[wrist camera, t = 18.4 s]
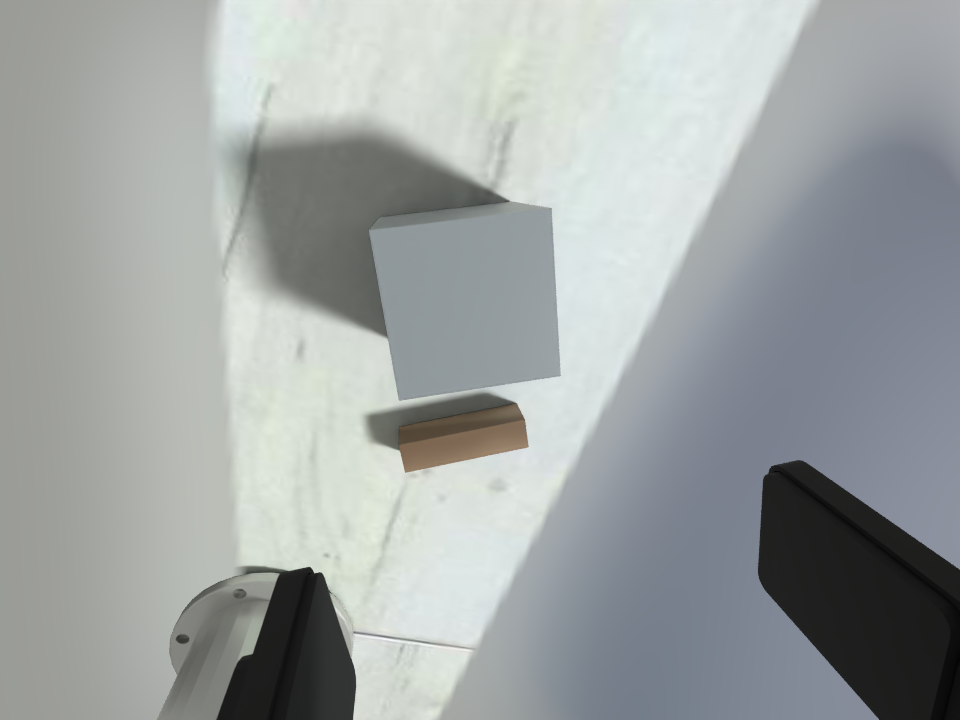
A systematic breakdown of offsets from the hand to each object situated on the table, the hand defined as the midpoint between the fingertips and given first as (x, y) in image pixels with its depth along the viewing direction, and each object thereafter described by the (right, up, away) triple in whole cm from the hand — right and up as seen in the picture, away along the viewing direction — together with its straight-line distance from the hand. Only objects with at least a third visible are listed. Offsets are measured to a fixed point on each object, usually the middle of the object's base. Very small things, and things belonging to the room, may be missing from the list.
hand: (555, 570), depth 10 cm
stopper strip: (-3, 0, +24) cm, 24 cm away
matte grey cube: (-3, +10, +20) cm, 22 cm away
